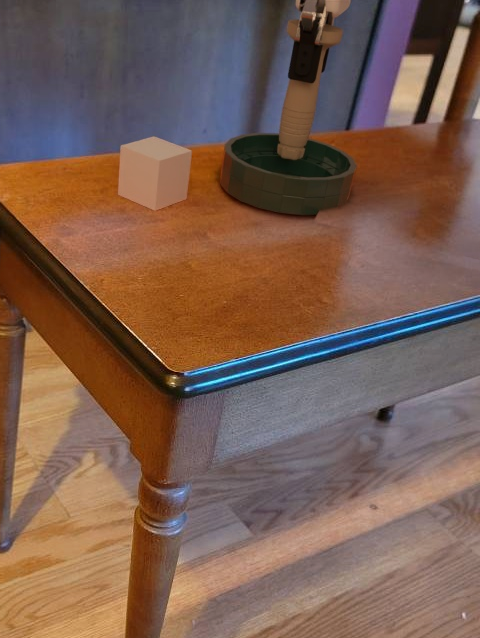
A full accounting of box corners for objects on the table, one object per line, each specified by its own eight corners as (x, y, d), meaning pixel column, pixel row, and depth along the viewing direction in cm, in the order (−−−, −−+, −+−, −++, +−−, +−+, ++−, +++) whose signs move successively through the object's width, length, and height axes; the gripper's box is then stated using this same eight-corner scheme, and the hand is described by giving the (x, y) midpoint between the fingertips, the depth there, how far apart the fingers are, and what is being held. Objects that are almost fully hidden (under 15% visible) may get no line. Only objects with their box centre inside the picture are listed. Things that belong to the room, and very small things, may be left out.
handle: (280, 145, 96) (304, 18, 87) (321, 160, 93) (350, 30, 84) (257, 152, 93) (280, 20, 84) (299, 168, 90) (327, 33, 81)
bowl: (355, 186, 101) (364, 150, 98) (335, 231, 88) (345, 190, 85) (238, 160, 104) (244, 124, 101) (203, 199, 91) (208, 159, 88)
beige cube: (117, 195, 90) (120, 145, 86) (149, 184, 94) (153, 136, 90) (155, 211, 87) (159, 160, 84) (186, 199, 91) (192, 150, 88)
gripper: (368, -105, 69) (324, 98, 80) (388, -107, 82) (348, 67, 93) (290, -116, 71) (257, 84, 82) (322, -116, 84) (290, 56, 95)
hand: (306, 73), depth 87 cm, fingers closed on handle, 5 cm apart
